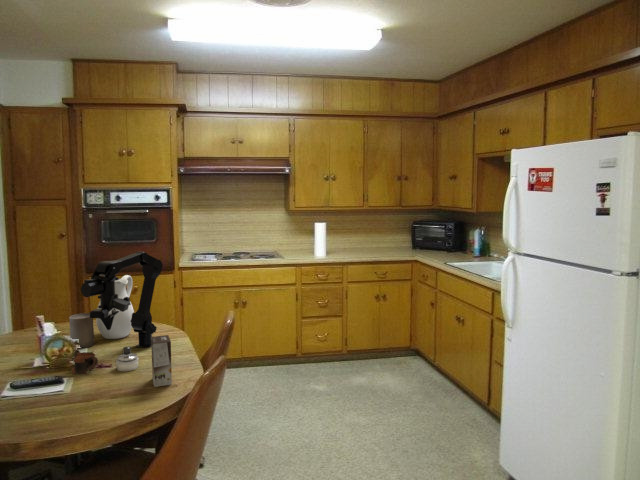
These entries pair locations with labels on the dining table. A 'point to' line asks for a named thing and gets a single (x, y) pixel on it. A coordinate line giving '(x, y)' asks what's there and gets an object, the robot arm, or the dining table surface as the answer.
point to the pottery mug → (84, 362)
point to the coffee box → (161, 360)
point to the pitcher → (121, 319)
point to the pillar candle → (82, 329)
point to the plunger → (127, 355)
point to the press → (127, 365)
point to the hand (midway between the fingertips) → (108, 329)
